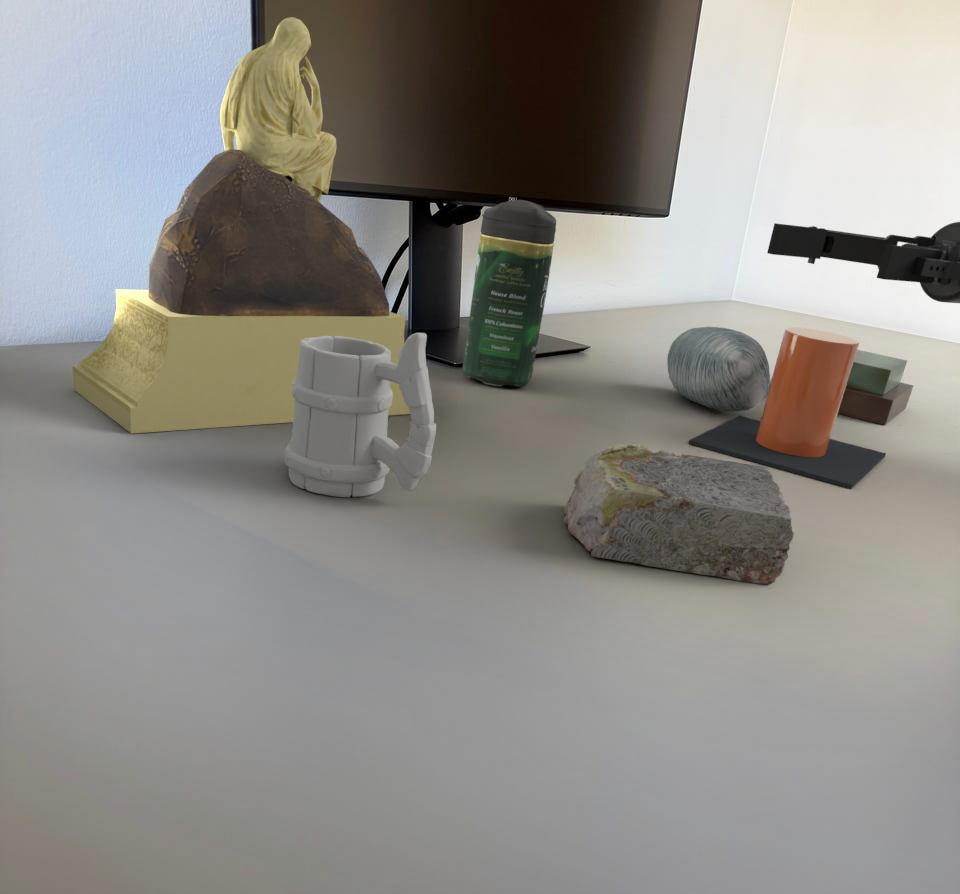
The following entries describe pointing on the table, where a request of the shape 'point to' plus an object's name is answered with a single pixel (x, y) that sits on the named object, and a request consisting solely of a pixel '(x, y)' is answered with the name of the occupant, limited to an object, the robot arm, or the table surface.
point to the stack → (875, 388)
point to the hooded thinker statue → (244, 270)
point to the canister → (806, 391)
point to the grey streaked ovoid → (719, 368)
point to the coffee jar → (509, 293)
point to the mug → (358, 416)
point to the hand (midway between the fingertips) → (825, 249)
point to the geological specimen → (681, 513)
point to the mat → (834, 467)
